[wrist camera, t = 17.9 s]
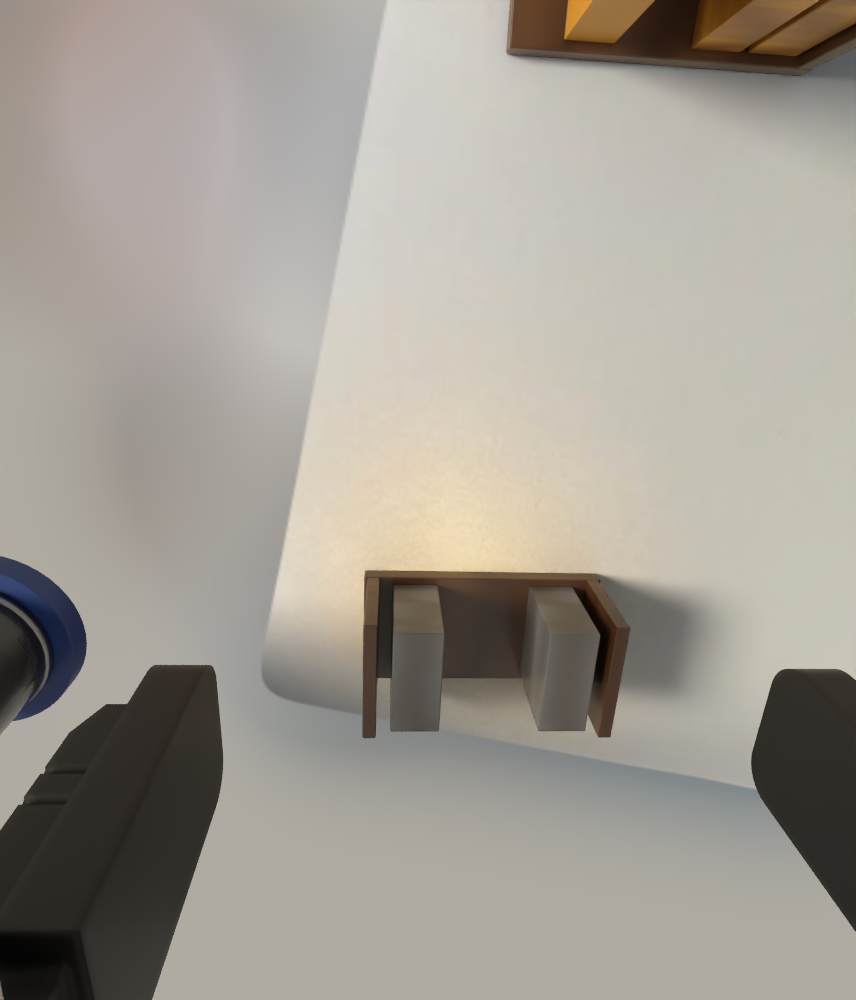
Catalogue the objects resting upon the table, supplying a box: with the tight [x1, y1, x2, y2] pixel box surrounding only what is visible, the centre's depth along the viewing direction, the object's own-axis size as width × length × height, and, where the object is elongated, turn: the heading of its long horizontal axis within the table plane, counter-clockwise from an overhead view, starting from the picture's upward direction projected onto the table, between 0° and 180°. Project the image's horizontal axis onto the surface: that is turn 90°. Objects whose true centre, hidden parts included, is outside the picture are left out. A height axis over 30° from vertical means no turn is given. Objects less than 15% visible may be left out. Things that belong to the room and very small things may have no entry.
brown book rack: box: [363, 571, 630, 738], centre depth 40 cm, size 16×8×7 cm, turn 87°
